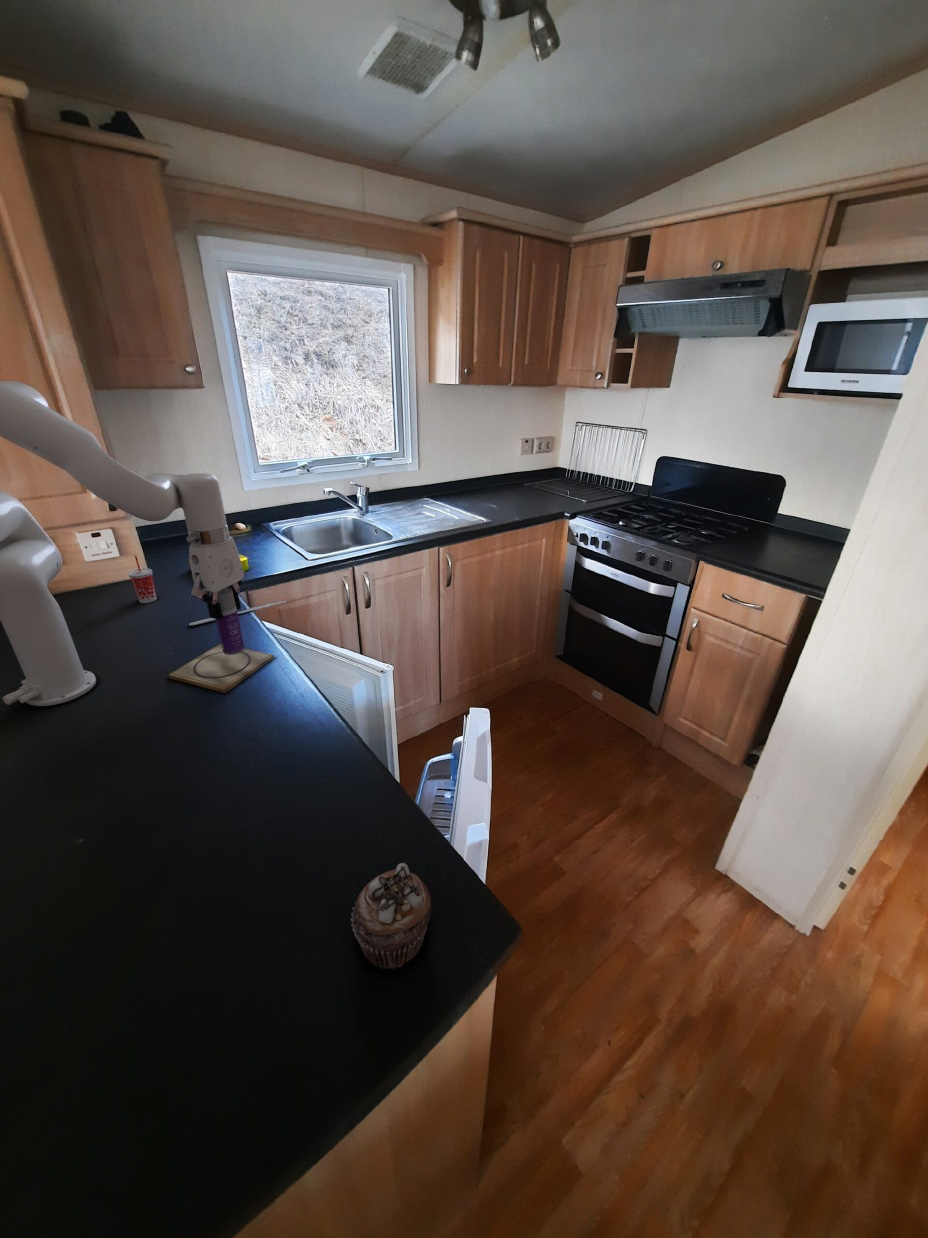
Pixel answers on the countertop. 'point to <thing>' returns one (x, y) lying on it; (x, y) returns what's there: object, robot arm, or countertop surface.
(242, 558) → the yellow flat square block
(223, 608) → the container
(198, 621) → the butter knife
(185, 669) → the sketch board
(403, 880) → the cupcake
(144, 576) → the beverage cup
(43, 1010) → the countertop surface
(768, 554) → the countertop surface
